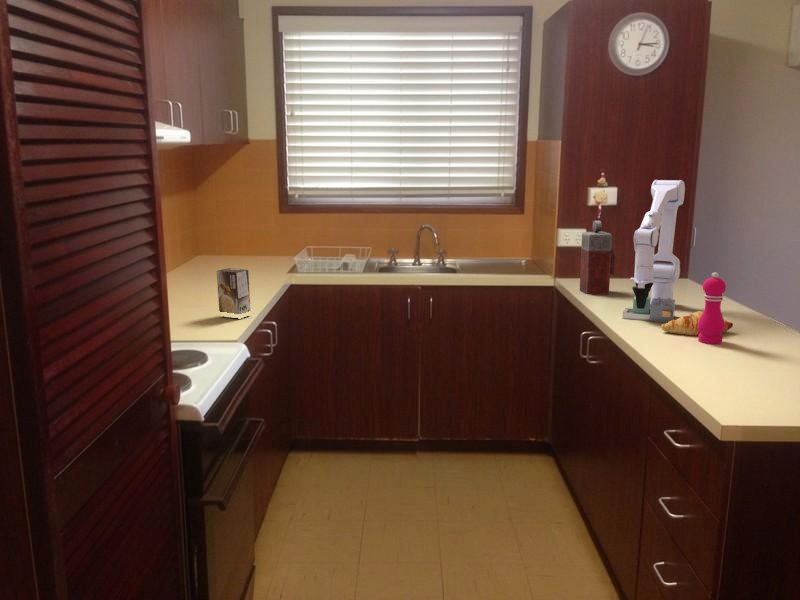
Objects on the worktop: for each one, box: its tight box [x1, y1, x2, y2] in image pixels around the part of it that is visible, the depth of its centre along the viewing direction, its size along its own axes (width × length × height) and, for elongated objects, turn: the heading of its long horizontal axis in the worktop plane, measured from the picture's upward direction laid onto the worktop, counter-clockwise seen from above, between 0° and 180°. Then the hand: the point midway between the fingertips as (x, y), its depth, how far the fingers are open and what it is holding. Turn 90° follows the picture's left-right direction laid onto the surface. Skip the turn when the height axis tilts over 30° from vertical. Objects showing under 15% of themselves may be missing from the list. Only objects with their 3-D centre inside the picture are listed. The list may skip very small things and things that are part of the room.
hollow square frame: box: [621, 297, 676, 323], centre depth 232 cm, size 12×16×6 cm
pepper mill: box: [697, 271, 727, 345], centre depth 200 cm, size 7×7×20 cm
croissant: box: [660, 310, 734, 336], centre depth 212 cm, size 21×10×8 cm, turn 90°
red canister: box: [579, 220, 616, 295], centre depth 275 cm, size 9×11×28 cm
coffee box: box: [216, 267, 252, 314], centre depth 238 cm, size 9×6×16 cm
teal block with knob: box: [632, 296, 651, 314], centre depth 233 cm, size 5×5×6 cm
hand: (641, 306), depth 233 cm, fingers open, 7 cm apart
